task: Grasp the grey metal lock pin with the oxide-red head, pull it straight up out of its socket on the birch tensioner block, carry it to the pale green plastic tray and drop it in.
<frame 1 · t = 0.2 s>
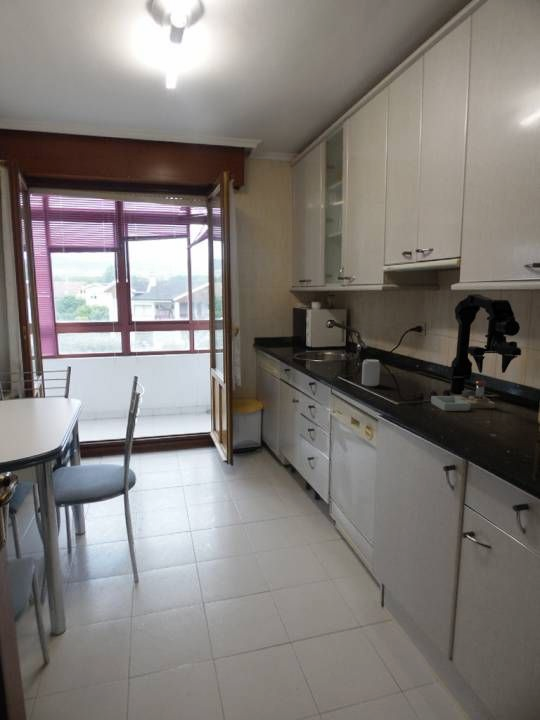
hand: (491, 372, 174), 14 cm above the worktop, fingers open, 9 cm apart
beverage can: (370, 385, 216), on the worktop
tray: (449, 406, 179), on the worktop
tensioner block: (473, 403, 183), on the worktop
lock pin: (479, 401, 179), point 2 cm above the worktop, touching tensioner block
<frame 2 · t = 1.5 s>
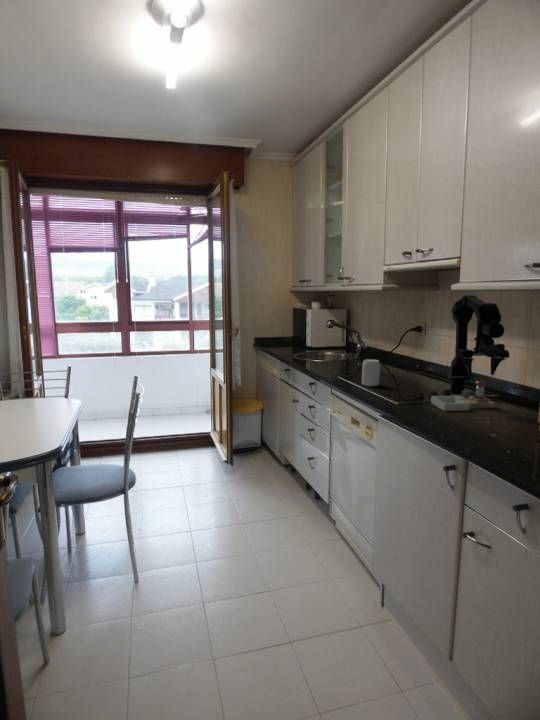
hand: (480, 374, 177), 13 cm above the worktop, fingers open, 9 cm apart
nothing on the worktop moved.
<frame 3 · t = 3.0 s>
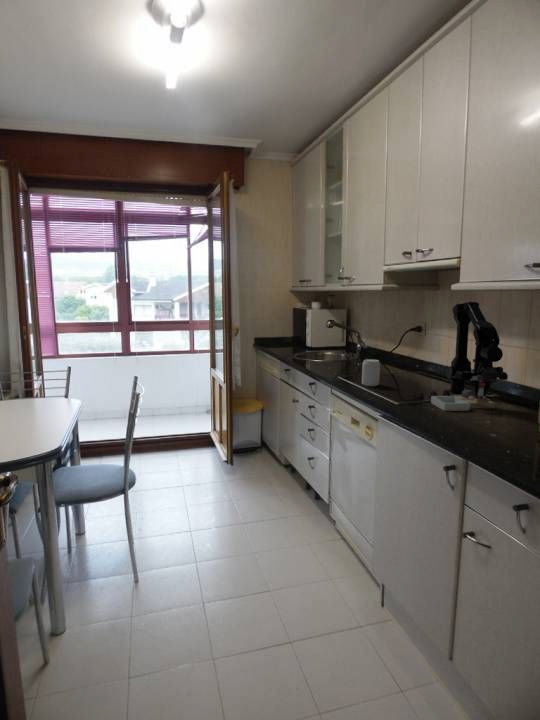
hand: (479, 396, 179), 4 cm above the worktop, fingers closed on lock pin, 3 cm apart
lock pin: (479, 401, 179), point 2 cm above the worktop, touching gripper, tensioner block
everything else where it was.
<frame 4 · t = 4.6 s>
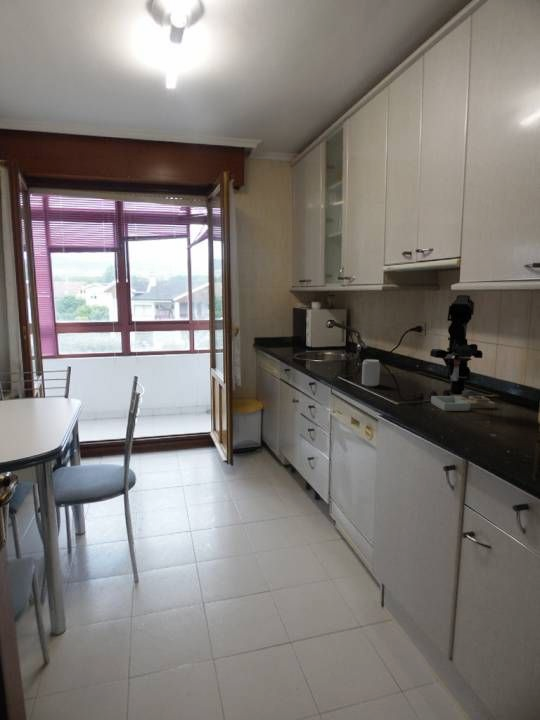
hand: (454, 375, 176), 13 cm above the worktop, fingers closed on lock pin, 3 cm apart
lock pin: (454, 380, 176), point 11 cm above the worktop, touching gripper
everything else where it was.
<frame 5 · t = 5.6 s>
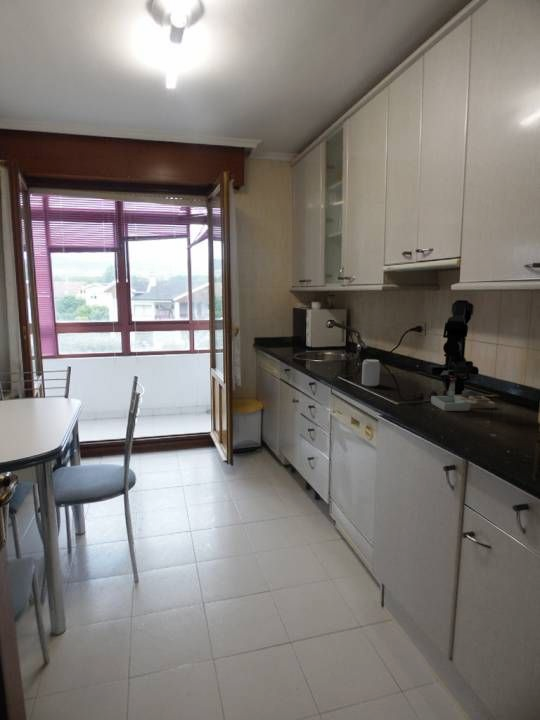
hand: (450, 391, 178), 6 cm above the worktop, fingers closed on lock pin, 3 cm apart
lock pin: (450, 396, 178), point 4 cm above the worktop, touching gripper
everything else where it was.
when the fingers open (4 cm above the worktop, at t = 6.2 s): lock pin drops 1 cm, resting on tray.
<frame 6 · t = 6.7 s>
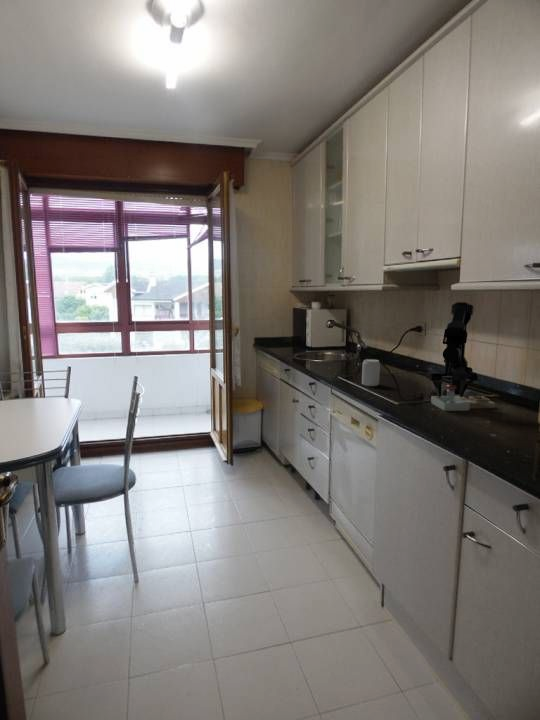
hand: (450, 397, 178), 4 cm above the worktop, fingers open, 8 cm apart
lock pin: (449, 405, 178), point 1 cm above the worktop, touching tray
everything else where it was.
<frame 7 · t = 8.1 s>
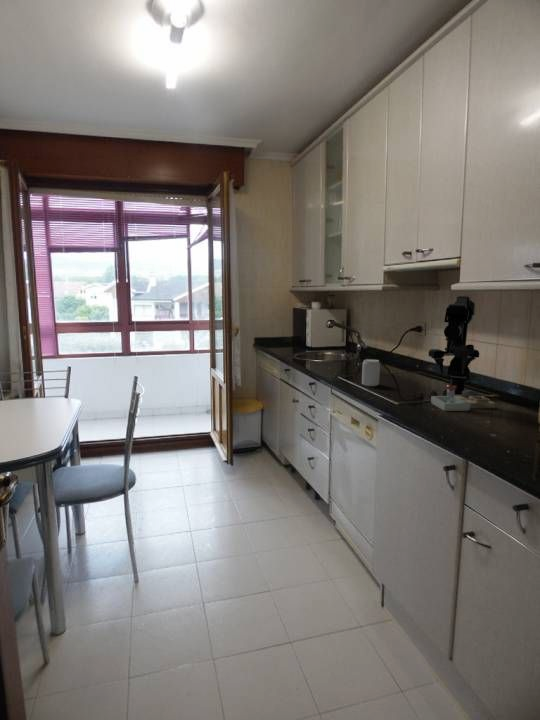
hand: (452, 374, 183), 12 cm above the worktop, fingers open, 9 cm apart
nothing on the worktop moved.
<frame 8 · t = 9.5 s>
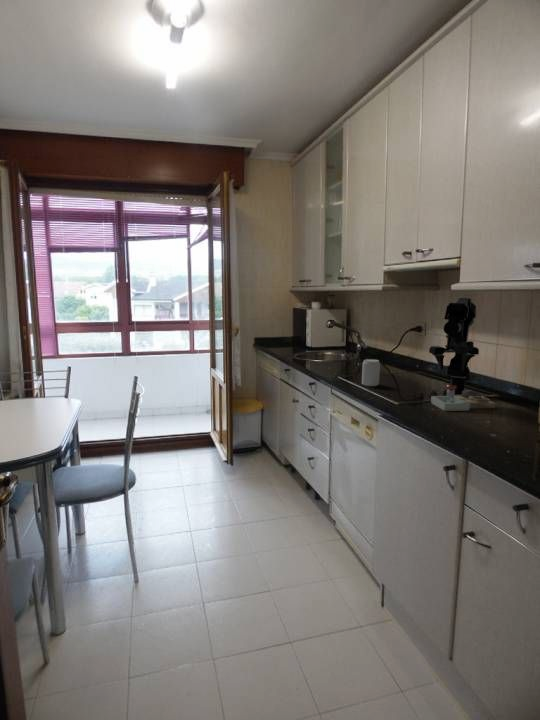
hand: (452, 370, 187), 13 cm above the worktop, fingers open, 9 cm apart
nothing on the worktop moved.
at the end: lock pin inside the target area on the tray (0.1 cm from its centre), point 0.6 cm above the tray's base; the gripper is holding nothing; lock pin touching tray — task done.
